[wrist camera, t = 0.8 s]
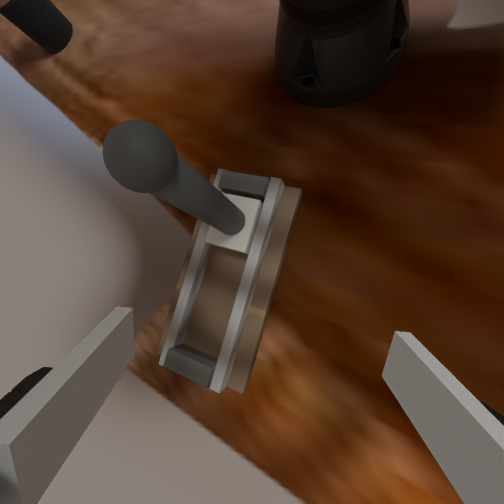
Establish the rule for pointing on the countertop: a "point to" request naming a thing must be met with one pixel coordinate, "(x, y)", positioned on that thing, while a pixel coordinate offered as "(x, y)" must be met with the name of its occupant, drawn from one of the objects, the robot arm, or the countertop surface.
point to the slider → (178, 183)
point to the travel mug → (39, 22)
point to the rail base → (228, 290)
